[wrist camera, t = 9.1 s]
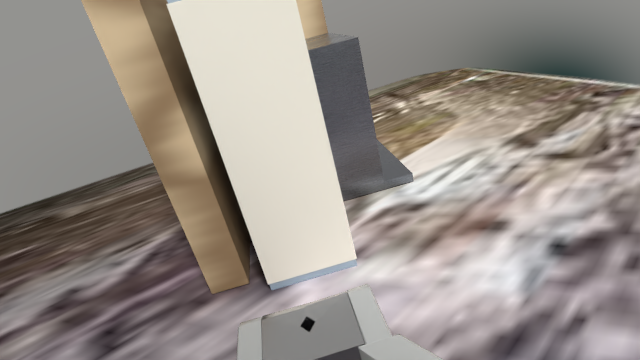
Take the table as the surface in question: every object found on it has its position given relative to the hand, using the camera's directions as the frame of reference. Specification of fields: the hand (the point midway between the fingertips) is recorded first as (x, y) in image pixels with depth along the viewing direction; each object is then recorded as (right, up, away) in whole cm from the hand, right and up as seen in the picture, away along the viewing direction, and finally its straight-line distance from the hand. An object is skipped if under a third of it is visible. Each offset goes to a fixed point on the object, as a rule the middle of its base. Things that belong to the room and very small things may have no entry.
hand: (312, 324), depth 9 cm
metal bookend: (+2, +4, +22) cm, 22 cm away
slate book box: (-1, +1, +18) cm, 18 cm away
